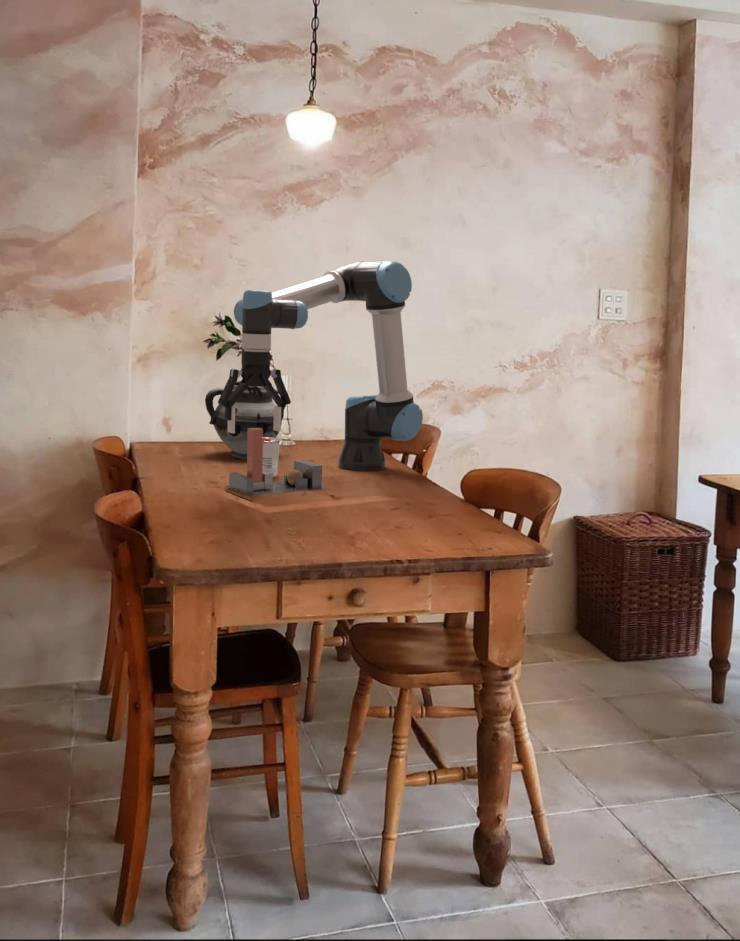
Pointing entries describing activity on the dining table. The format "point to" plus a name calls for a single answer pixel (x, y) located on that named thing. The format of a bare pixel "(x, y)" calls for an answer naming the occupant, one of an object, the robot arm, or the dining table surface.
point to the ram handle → (257, 460)
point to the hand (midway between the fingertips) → (254, 431)
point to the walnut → (294, 476)
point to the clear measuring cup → (270, 455)
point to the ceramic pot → (243, 417)
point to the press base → (308, 482)
